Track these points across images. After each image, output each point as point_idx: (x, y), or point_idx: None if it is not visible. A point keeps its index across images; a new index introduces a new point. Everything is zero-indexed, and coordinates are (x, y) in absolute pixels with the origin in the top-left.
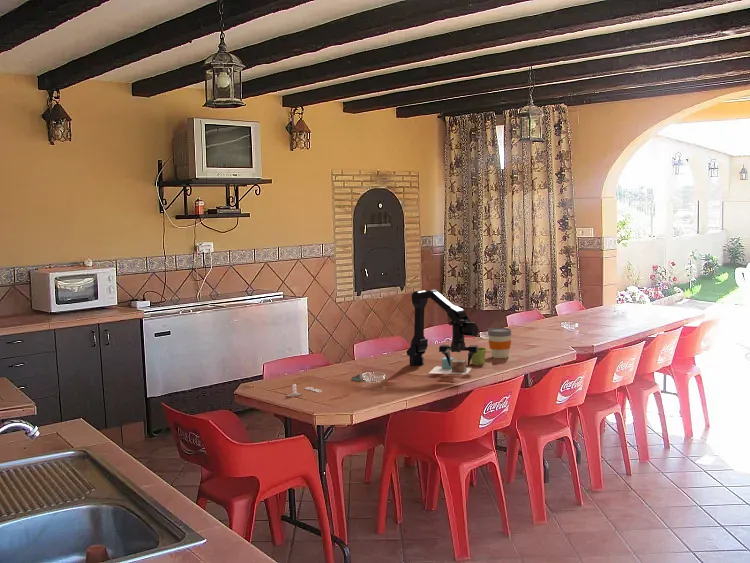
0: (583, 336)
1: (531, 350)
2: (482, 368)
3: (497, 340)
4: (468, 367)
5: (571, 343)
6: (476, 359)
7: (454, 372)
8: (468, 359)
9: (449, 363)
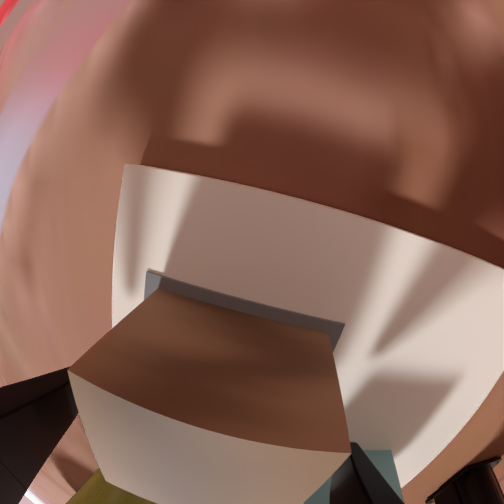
0: (45, 501)
1: (64, 500)
2: (84, 430)
3: None
4: None
5: (35, 488)
6: (110, 500)
7: (294, 309)
8: (8, 405)
9: (360, 463)
